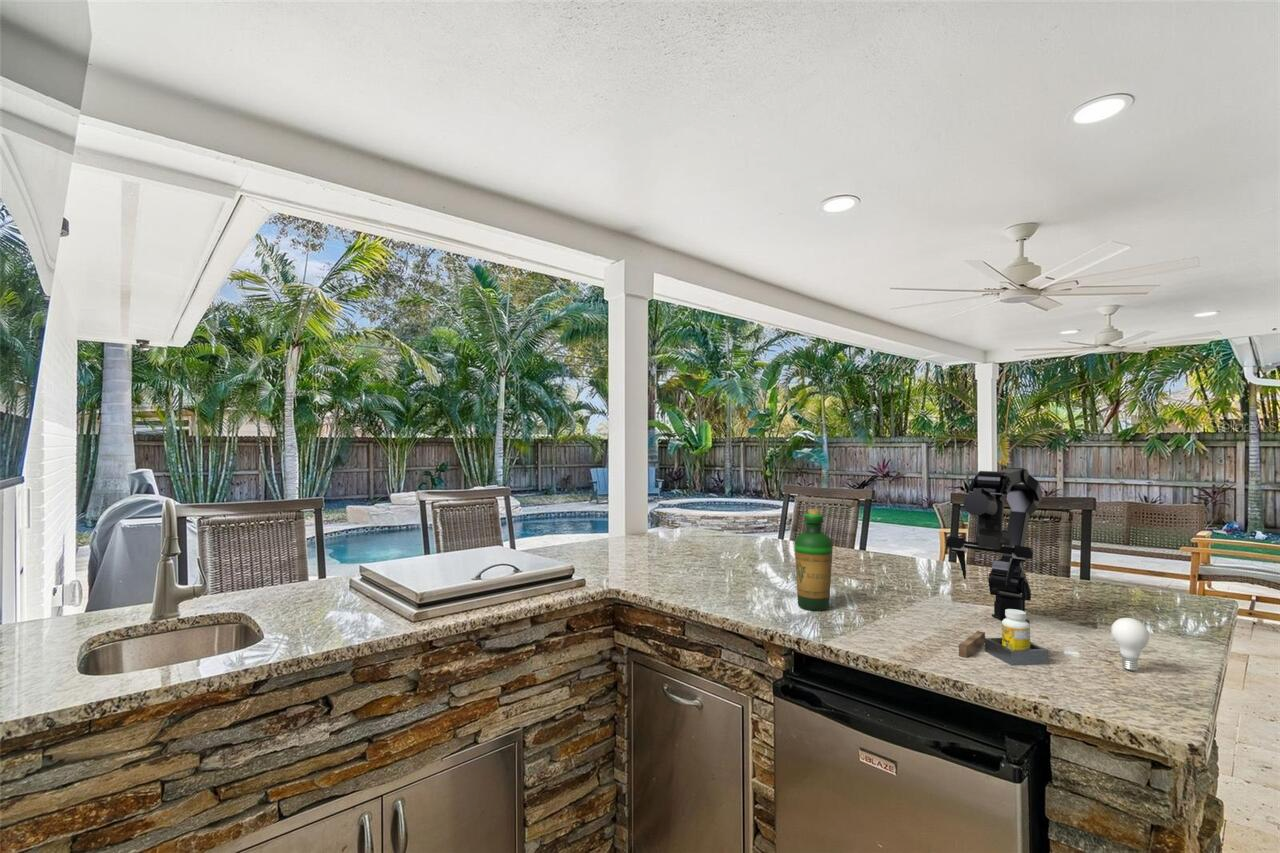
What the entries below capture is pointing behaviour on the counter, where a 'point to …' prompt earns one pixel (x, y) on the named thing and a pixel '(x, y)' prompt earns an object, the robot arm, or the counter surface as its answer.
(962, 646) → the brown wooden bar
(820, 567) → the bottle
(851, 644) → the counter surface
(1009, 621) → the supplement bottle
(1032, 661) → the metal pocket
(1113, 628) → the lightbulb
